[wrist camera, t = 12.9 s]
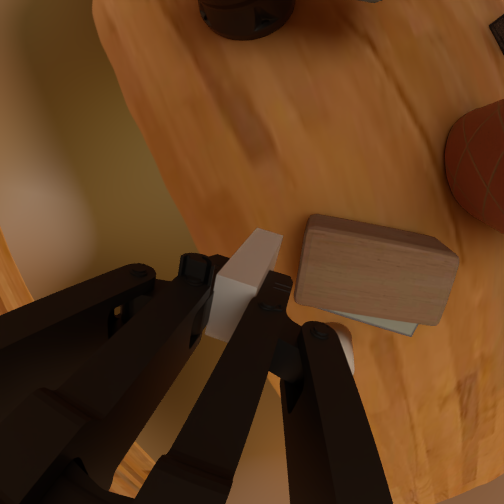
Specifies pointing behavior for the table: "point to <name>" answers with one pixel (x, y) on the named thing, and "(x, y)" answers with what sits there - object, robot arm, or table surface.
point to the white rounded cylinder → (344, 342)
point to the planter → (478, 163)
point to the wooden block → (374, 271)
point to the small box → (498, 31)
